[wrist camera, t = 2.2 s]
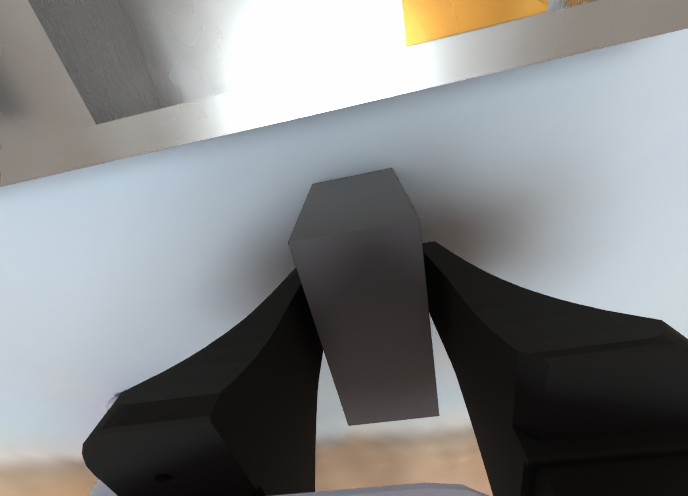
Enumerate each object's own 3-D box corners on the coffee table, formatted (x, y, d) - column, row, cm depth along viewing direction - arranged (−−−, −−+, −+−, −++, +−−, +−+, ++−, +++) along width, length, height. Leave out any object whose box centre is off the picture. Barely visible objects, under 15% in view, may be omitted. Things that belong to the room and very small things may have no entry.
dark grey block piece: (411, 313, 14) (439, 415, 10) (349, 323, 14) (348, 425, 10) (391, 167, 11) (419, 218, 7) (312, 183, 11) (288, 242, 7)
